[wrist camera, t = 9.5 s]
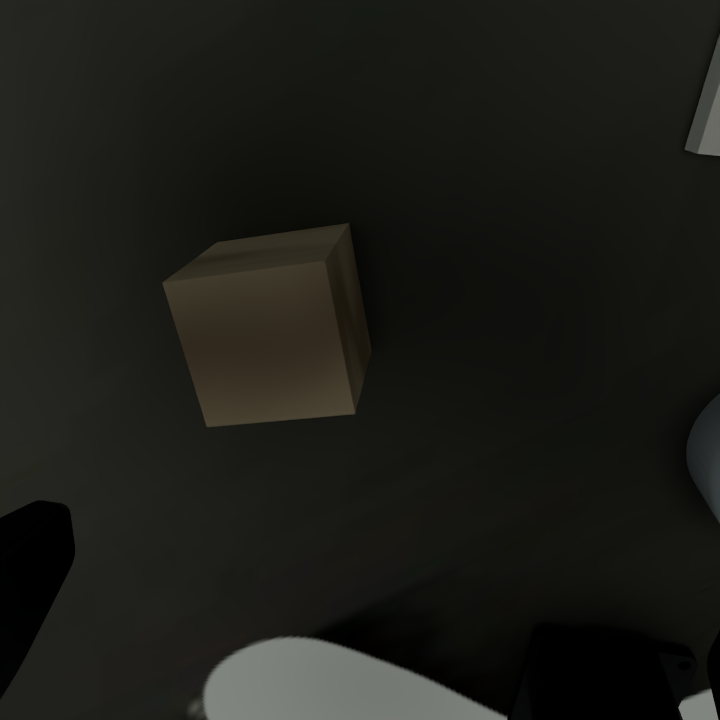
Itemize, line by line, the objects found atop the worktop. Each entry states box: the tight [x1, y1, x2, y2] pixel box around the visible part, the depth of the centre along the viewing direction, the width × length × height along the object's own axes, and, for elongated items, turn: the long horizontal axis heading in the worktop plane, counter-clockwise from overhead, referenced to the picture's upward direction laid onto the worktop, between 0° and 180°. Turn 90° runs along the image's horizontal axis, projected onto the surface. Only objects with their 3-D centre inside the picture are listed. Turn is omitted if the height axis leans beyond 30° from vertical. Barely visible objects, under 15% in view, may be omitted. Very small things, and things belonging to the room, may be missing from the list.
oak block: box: [163, 223, 371, 427], centre depth 19 cm, size 4×4×4 cm
